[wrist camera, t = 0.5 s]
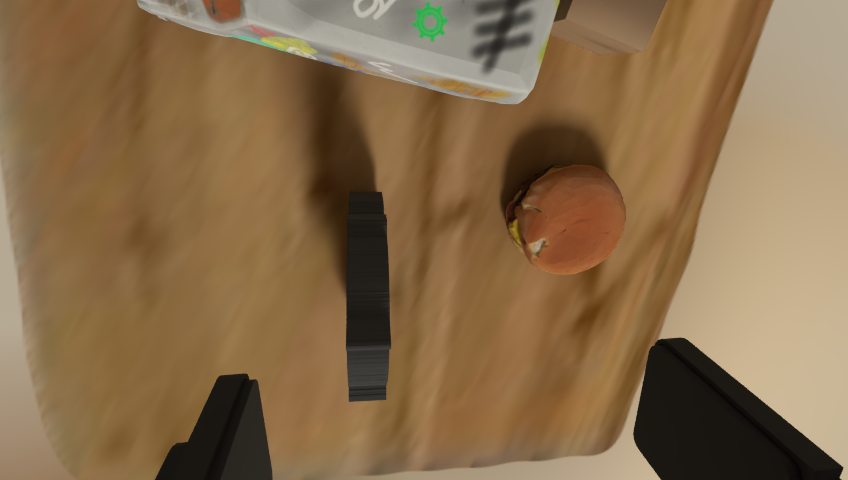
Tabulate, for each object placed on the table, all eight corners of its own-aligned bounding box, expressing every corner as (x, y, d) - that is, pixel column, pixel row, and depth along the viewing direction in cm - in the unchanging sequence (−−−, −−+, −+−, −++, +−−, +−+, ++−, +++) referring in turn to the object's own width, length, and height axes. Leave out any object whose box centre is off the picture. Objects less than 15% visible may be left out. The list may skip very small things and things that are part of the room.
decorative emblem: (350, 185, 37) (344, 254, 23) (380, 185, 37) (393, 254, 23) (351, 314, 41) (347, 440, 27) (379, 313, 41) (389, 438, 27)
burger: (628, 210, 41) (659, 227, 37) (551, 281, 42) (572, 305, 38) (561, 133, 38) (587, 141, 33) (480, 213, 39) (495, 230, 35)
